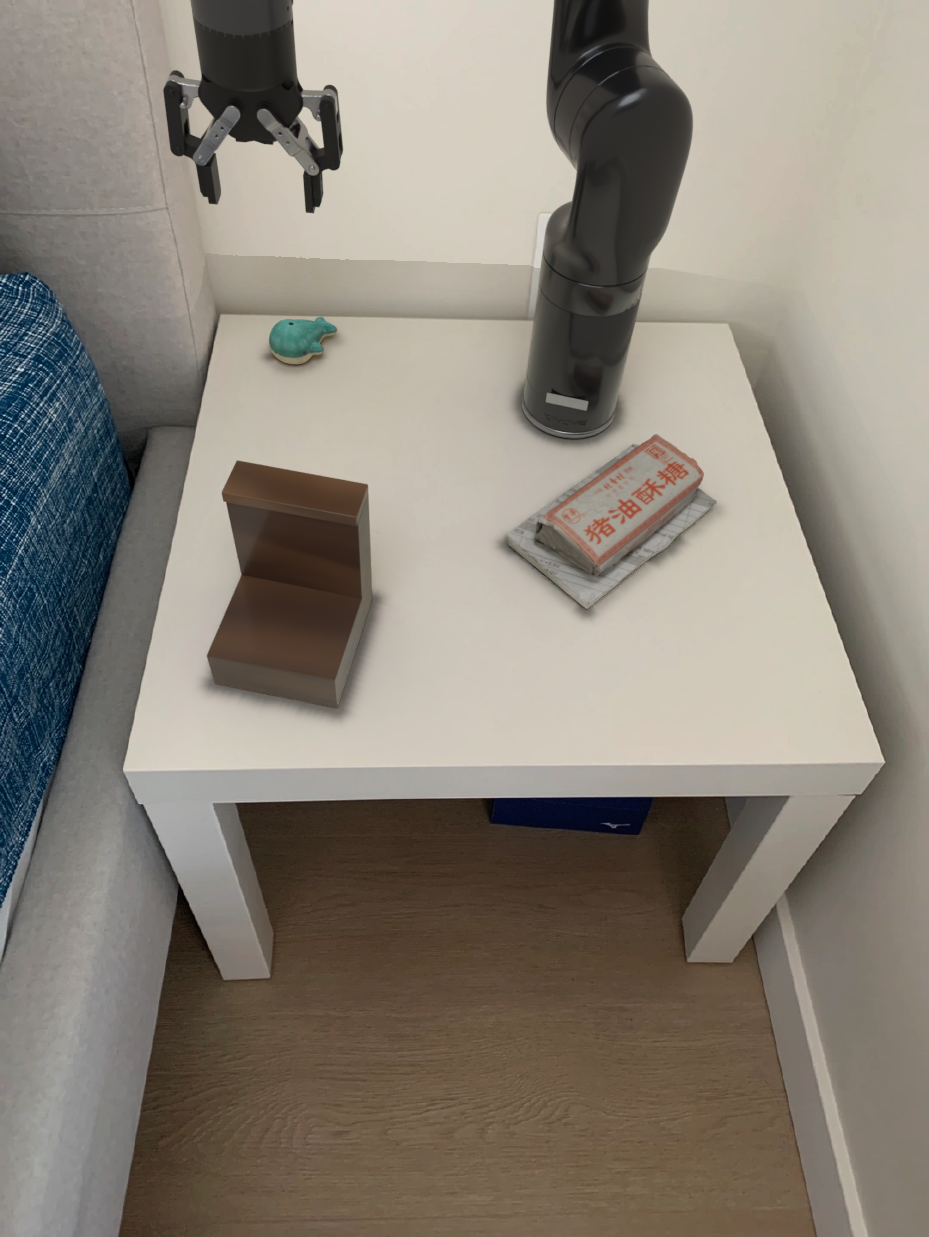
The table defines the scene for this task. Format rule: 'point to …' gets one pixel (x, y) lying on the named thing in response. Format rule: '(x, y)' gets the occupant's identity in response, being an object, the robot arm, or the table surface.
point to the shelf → (294, 583)
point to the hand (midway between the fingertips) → (263, 204)
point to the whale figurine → (299, 339)
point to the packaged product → (614, 519)
